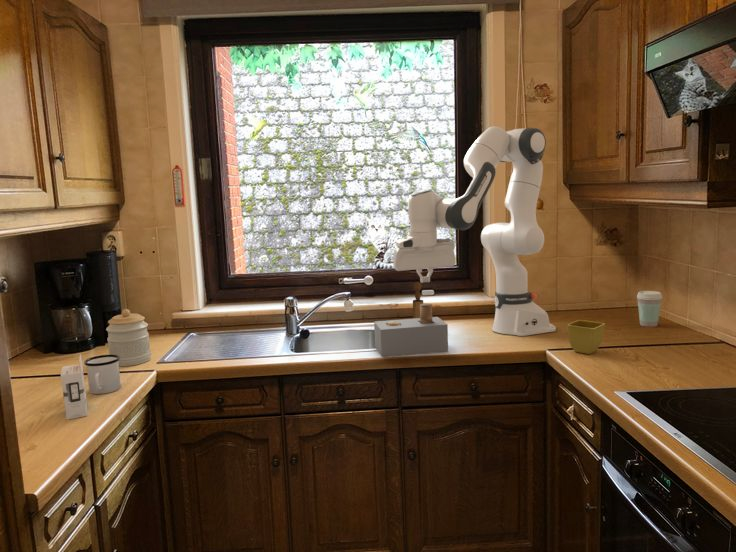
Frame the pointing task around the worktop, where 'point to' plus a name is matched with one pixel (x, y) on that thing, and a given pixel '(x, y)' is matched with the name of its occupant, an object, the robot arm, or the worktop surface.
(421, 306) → the walnut dowel
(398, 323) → the beech dowel
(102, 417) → the worktop surface
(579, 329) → the flower pot
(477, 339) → the worktop surface
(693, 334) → the worktop surface
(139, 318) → the jar
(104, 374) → the mug
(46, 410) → the worktop surface
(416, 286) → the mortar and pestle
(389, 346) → the socket block
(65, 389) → the ink box
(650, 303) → the coffee cup
